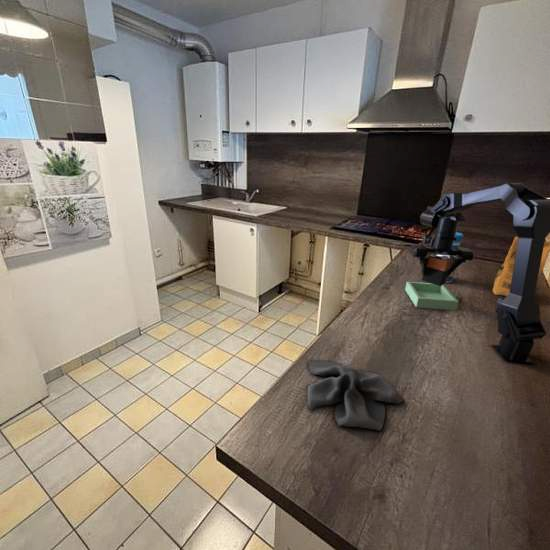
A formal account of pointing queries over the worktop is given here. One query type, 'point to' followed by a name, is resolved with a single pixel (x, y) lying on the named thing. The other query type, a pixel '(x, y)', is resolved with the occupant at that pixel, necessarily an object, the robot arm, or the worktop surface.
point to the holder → (431, 296)
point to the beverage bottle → (455, 244)
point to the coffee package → (506, 269)
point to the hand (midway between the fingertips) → (435, 275)
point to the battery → (437, 270)
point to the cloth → (352, 394)
